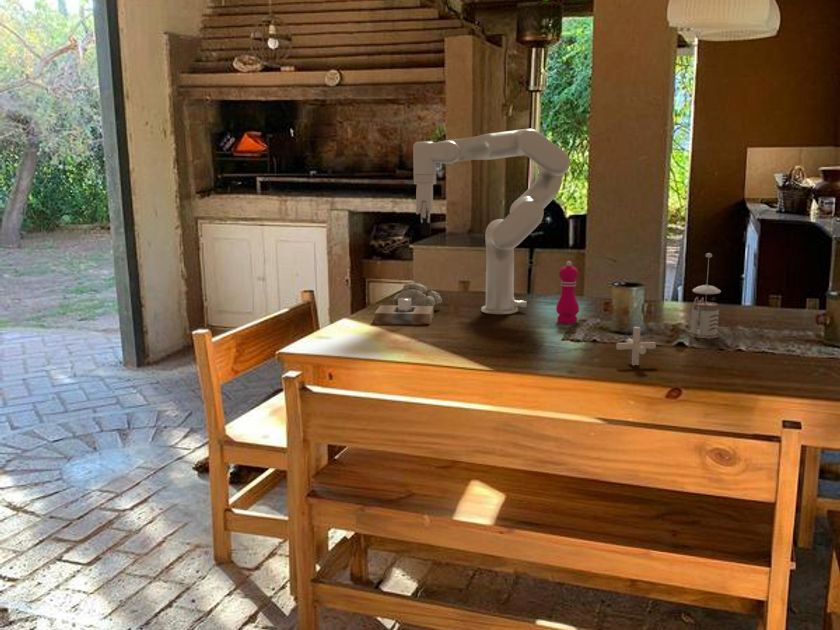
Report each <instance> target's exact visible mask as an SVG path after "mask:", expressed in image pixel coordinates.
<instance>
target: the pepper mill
mask: <svg viewBox="0 0 840 630" xmlns="http://www.w3.org/2000/svg"><path fill="white" fill-rule="evenodd" d="M558 276H559V278H560V279H561V280H560V284H559V285H560V286H561V295H560V297H559V300H558V302H557V304H556V308H555V309H556V310H555V311H556V313H558V316H557V318H556V319H557V323H558V324H561V325H574V324H573V323H575V324H577V323H578V317H577V316H576V315H578V313H579V312H580V307H579V302H578V300H577V297H576V294H575V288H576V286H577V281H576V280H577V279H578V277H579V271H578V268H577V267H575V266H573V263H572V261H570V260H567V262H566V263H565V265H564V266H562V267H561V268H560V270H559V273H558ZM576 322H577V323H576Z"/></svg>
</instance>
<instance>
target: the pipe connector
mask: <svg viewBox="0 0 840 630" xmlns="http://www.w3.org/2000/svg"><path fill="white" fill-rule="evenodd" d="M632 329H633V330H632V338H627V339H626V342H616V344H615V345H616V348H615V349H616V350H620V351H621V350H631V366H635V365H637V366H639V364H640V355H645V354H646V353H647V350H651V349H653V350H654V349H656V346H657V345H656V344H657V343H656V342H655V341H641V329H642V328H641V327H640V326H633V328H632Z"/></svg>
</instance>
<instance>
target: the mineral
mask: <svg viewBox="0 0 840 630" xmlns="http://www.w3.org/2000/svg"><path fill="white" fill-rule="evenodd" d="M428 290H429V286H427V285H423V284H422V283H416V282H408V283H405V284H404V285H403V287H402V289H401V291H400V292H399V293H397V294H396V293H395V295H394V297H393V299H392V303H393V305H394V306H398V299H399V298H411V306H435V305H436V304H441V303H442V302H443V299H442V297H441V296H442V295H441V294H440V293H439V292H437V291H434V290H430V291H429V292H428Z"/></svg>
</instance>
